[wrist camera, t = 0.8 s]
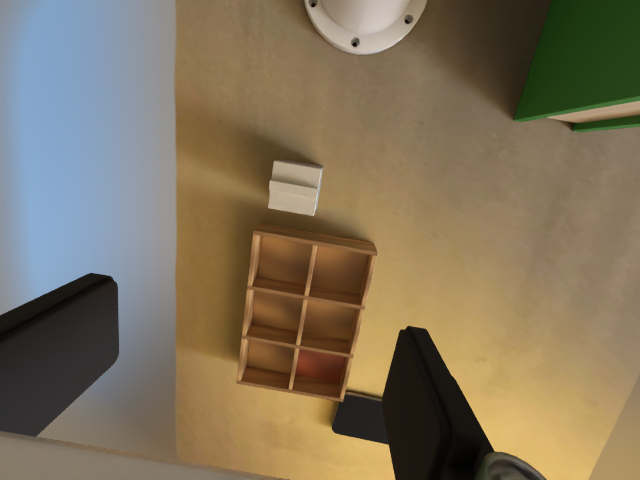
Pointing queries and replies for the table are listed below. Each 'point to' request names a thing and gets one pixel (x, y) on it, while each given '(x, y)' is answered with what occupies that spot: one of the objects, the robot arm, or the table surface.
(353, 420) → the smartphone
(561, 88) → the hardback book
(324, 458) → the table surface
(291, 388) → the compartment tray
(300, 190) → the milk carton
